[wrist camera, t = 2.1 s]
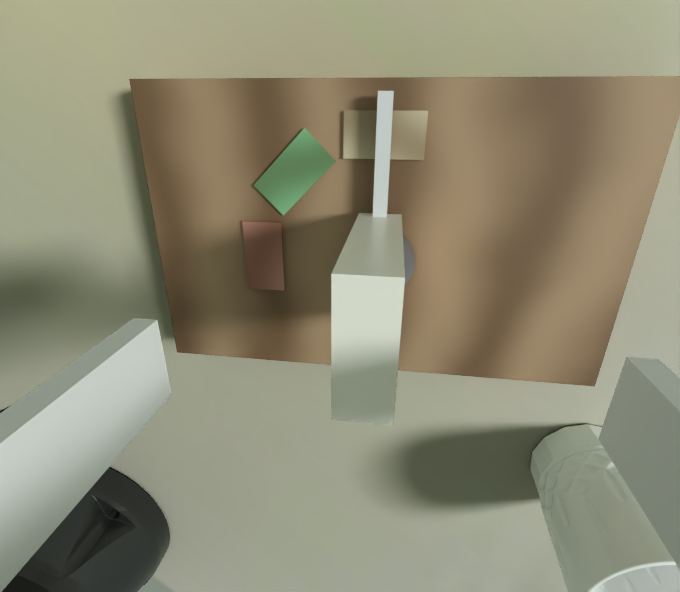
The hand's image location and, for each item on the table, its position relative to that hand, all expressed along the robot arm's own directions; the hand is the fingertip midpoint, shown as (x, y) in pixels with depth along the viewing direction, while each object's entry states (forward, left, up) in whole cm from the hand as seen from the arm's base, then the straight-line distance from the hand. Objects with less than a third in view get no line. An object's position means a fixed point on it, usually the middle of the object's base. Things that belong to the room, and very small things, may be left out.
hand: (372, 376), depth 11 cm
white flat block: (0, +3, -11) cm, 11 cm away
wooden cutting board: (0, +1, -14) cm, 14 cm away
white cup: (+15, -15, -14) cm, 25 cm away
